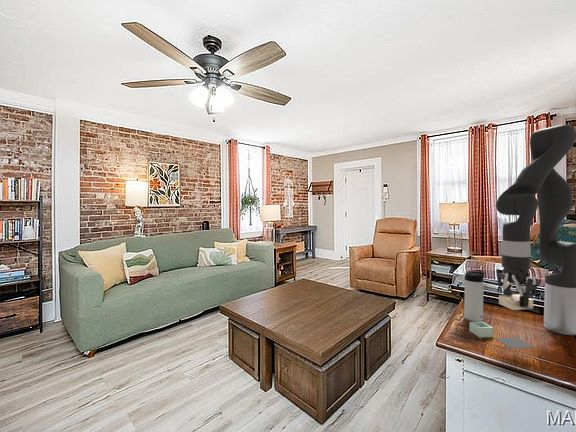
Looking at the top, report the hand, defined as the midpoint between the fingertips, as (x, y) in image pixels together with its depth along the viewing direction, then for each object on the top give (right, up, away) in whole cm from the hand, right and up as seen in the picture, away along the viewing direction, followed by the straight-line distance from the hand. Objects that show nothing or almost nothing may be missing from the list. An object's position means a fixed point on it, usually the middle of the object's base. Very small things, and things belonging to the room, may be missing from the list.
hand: (515, 303), depth 92 cm
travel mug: (-1, -13, +20) cm, 24 cm away
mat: (0, -14, +1) cm, 14 cm away
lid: (0, -1, 0) cm, 1 cm away
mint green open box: (-7, -14, +7) cm, 17 cm away
